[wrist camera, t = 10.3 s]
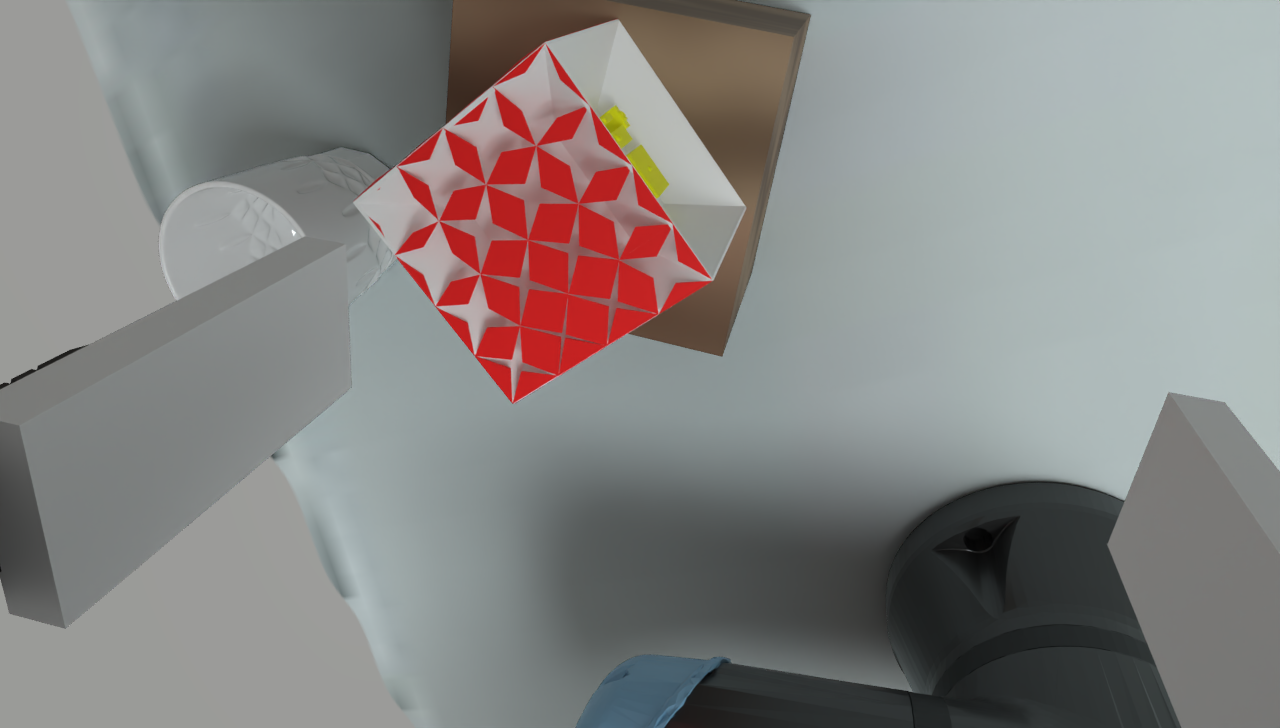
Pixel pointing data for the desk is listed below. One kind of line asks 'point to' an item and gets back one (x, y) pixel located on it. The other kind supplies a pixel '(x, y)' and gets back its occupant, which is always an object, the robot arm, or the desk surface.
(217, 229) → the white cup
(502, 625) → the desk surface
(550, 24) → the walnut pedestal
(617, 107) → the red white patterned cube
